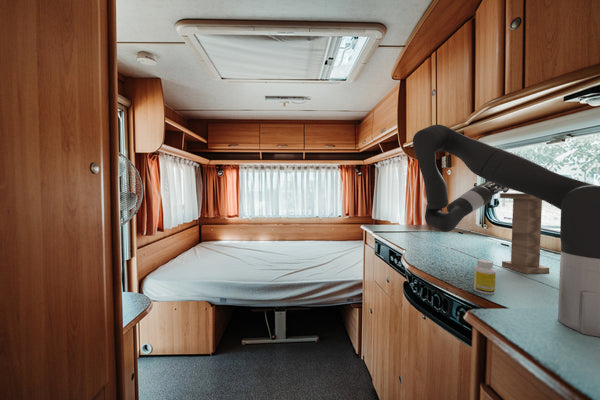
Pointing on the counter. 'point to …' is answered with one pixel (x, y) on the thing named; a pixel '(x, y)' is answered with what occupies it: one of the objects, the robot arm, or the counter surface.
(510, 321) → the counter surface
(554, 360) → the counter surface
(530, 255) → the stand
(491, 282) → the supplement bottle
